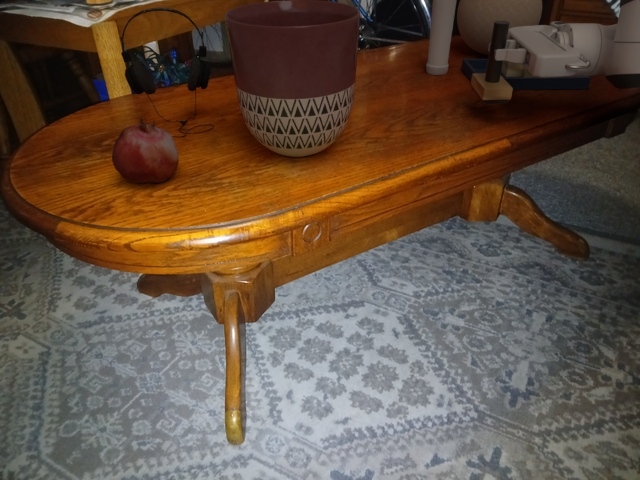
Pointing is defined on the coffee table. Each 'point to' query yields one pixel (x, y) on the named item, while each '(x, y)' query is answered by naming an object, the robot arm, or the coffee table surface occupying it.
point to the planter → (294, 71)
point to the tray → (527, 78)
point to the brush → (493, 71)
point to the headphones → (143, 80)
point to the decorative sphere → (493, 19)
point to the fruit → (145, 154)
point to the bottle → (440, 36)
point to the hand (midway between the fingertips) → (491, 51)
